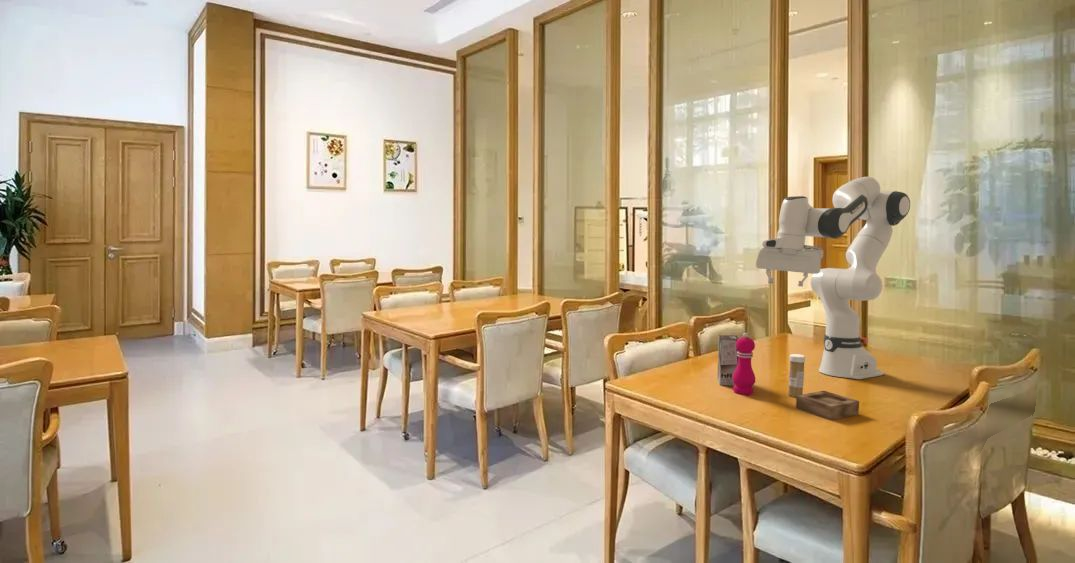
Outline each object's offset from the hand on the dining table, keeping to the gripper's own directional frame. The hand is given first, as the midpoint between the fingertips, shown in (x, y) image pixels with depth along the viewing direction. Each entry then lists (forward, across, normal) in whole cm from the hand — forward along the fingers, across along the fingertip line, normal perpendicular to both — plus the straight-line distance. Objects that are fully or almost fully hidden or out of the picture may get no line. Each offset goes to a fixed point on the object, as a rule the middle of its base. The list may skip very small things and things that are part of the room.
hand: (785, 284), depth 203 cm
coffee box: (+36, +15, +1) cm, 39 cm away
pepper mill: (+37, +9, +11) cm, 39 cm away
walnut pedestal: (+36, -16, +22) cm, 45 cm away
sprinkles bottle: (+36, -7, +8) cm, 37 cm away
